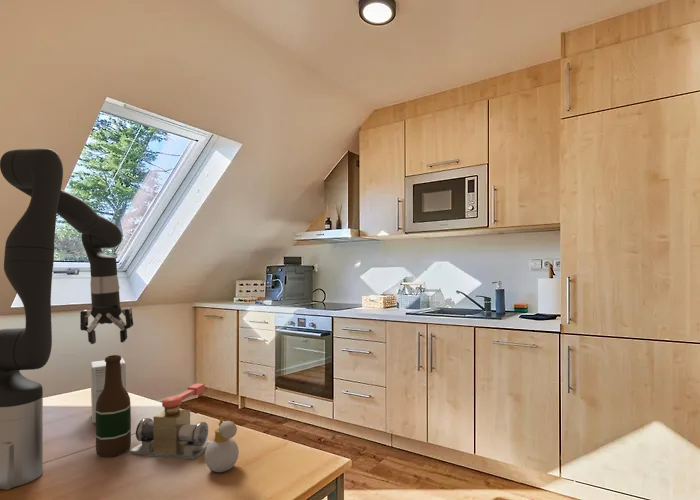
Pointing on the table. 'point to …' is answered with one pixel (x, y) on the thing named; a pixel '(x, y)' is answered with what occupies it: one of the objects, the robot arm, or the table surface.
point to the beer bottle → (113, 413)
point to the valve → (171, 435)
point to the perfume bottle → (222, 448)
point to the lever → (183, 396)
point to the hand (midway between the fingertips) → (108, 342)
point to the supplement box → (101, 381)
